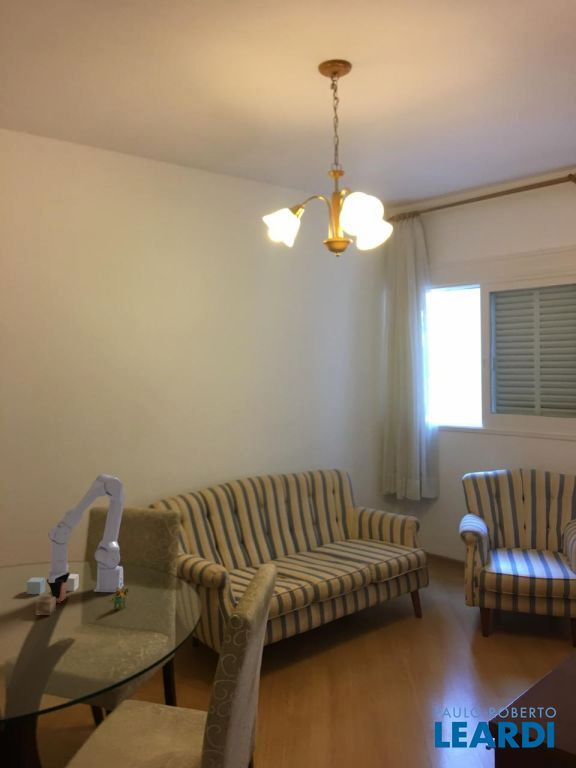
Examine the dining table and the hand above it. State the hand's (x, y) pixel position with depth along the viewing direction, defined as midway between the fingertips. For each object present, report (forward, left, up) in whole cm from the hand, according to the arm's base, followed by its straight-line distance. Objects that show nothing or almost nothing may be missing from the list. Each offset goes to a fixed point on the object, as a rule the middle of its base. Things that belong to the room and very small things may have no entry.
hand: (58, 595), depth 235 cm
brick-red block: (0, 0, -2) cm, 2 cm away
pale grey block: (0, -12, -2) cm, 12 cm away
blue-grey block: (+11, -7, -2) cm, 13 cm away
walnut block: (0, +12, -2) cm, 12 cm away
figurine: (-24, +7, -2) cm, 25 cm away
